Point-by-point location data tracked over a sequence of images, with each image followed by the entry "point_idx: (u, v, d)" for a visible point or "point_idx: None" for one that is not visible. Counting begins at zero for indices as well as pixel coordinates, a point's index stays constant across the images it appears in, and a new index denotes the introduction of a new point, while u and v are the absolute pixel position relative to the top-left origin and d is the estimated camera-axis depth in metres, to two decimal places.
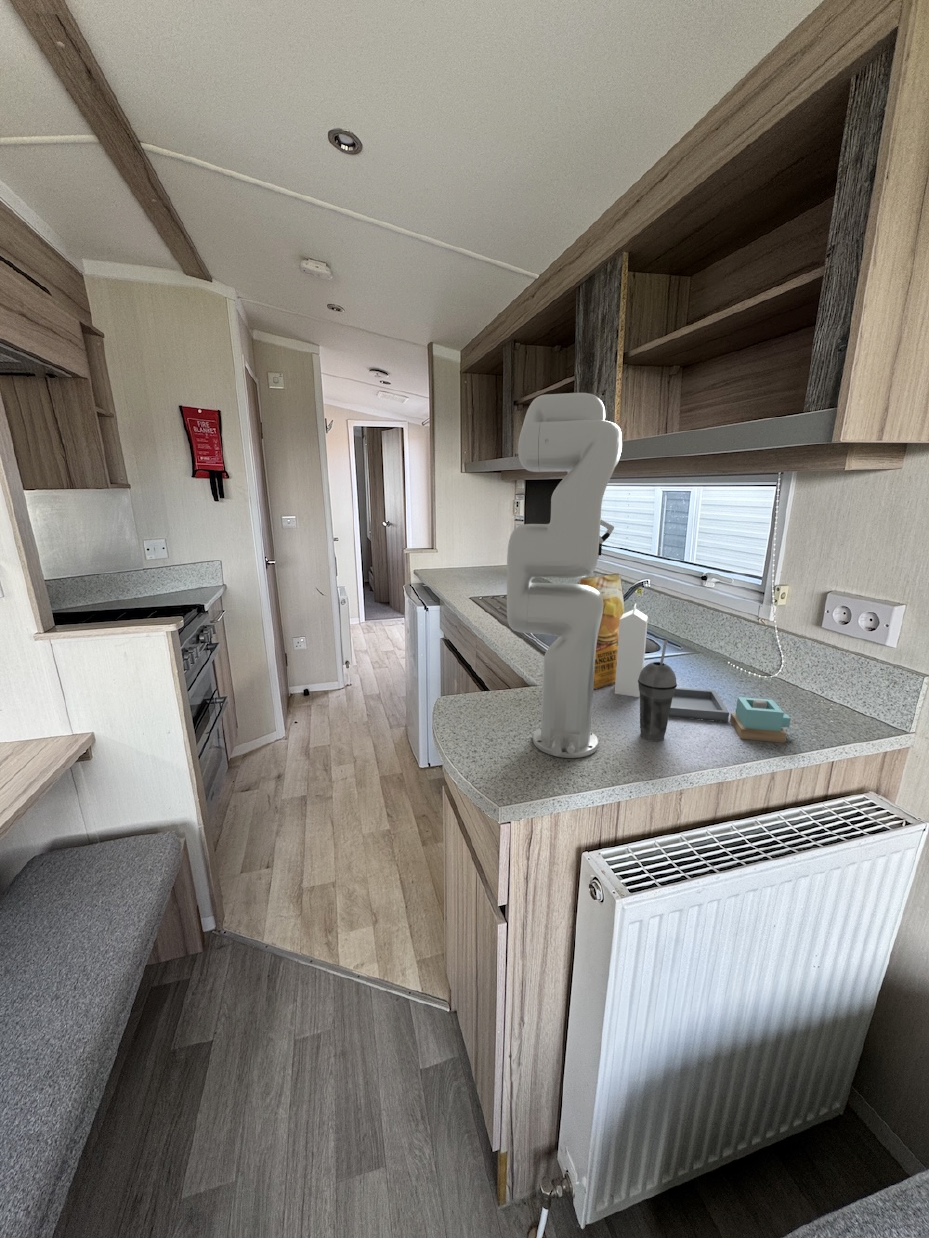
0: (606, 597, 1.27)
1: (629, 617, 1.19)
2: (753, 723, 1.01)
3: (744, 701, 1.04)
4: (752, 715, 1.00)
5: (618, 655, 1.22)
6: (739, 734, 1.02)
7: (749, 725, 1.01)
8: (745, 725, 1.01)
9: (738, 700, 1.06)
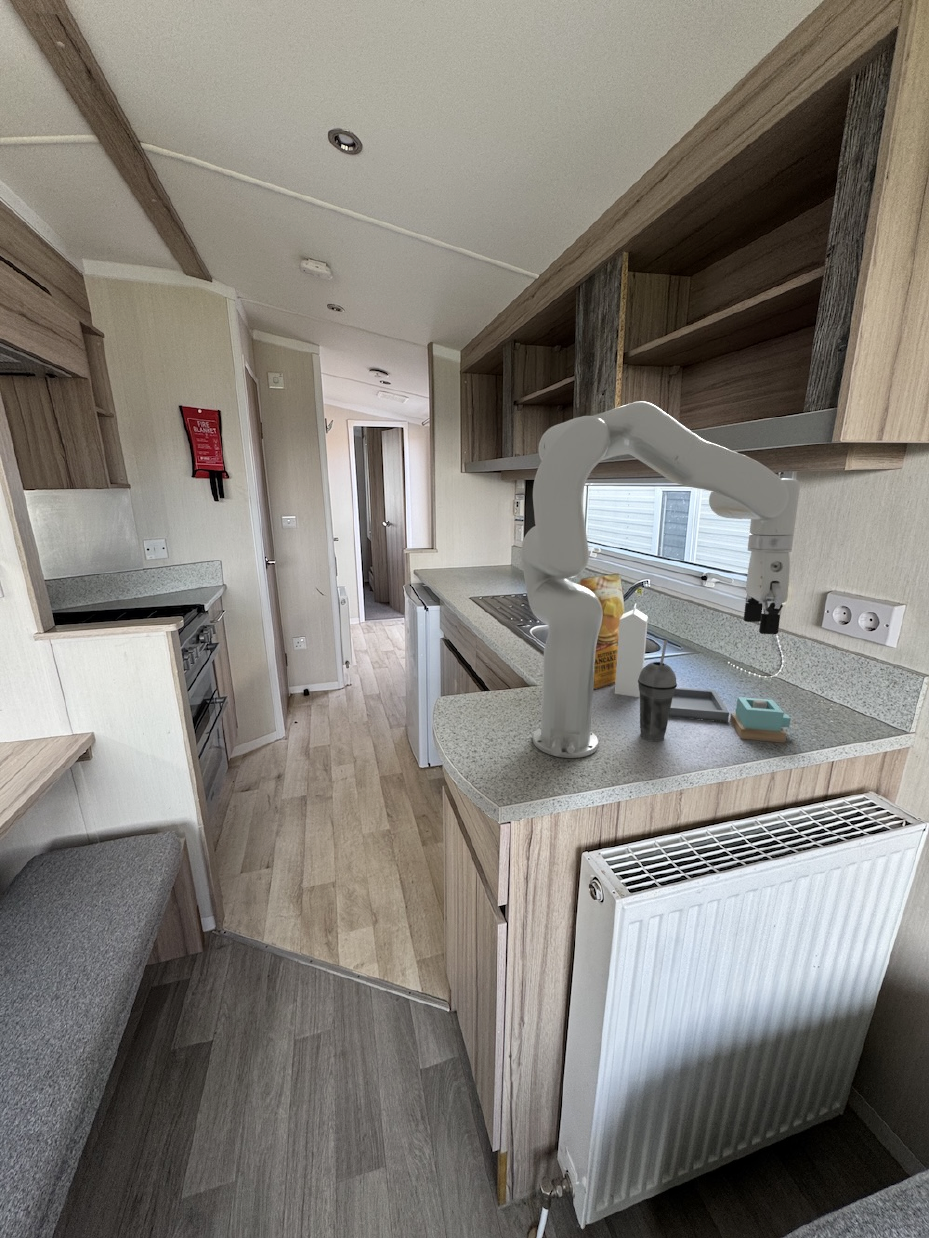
0: (606, 597, 1.27)
1: (629, 617, 1.19)
2: (753, 723, 1.01)
3: (744, 701, 1.04)
4: (752, 715, 1.00)
5: (618, 655, 1.22)
6: (739, 734, 1.02)
7: (749, 725, 1.01)
8: (745, 725, 1.01)
9: (738, 700, 1.06)
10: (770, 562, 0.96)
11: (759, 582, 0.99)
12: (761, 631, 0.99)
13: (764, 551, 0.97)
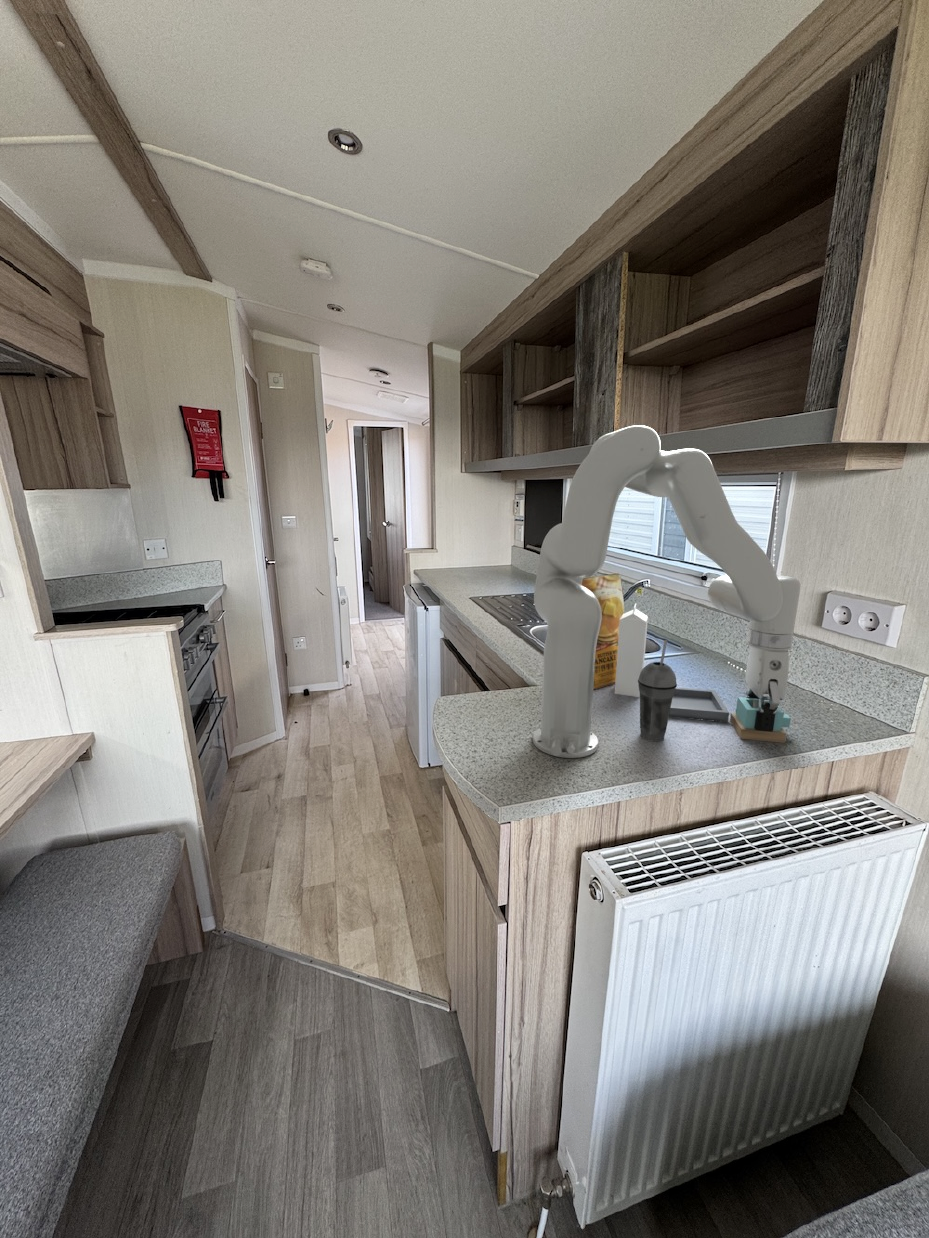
0: (606, 597, 1.27)
1: (629, 617, 1.19)
2: (753, 723, 1.01)
3: (744, 701, 1.04)
4: (752, 715, 1.00)
5: (618, 655, 1.22)
6: (739, 734, 1.02)
7: (749, 725, 1.01)
8: (745, 725, 1.01)
9: (738, 700, 1.06)
10: (769, 661, 0.96)
11: (758, 678, 0.98)
12: (756, 728, 1.00)
13: (763, 648, 0.97)
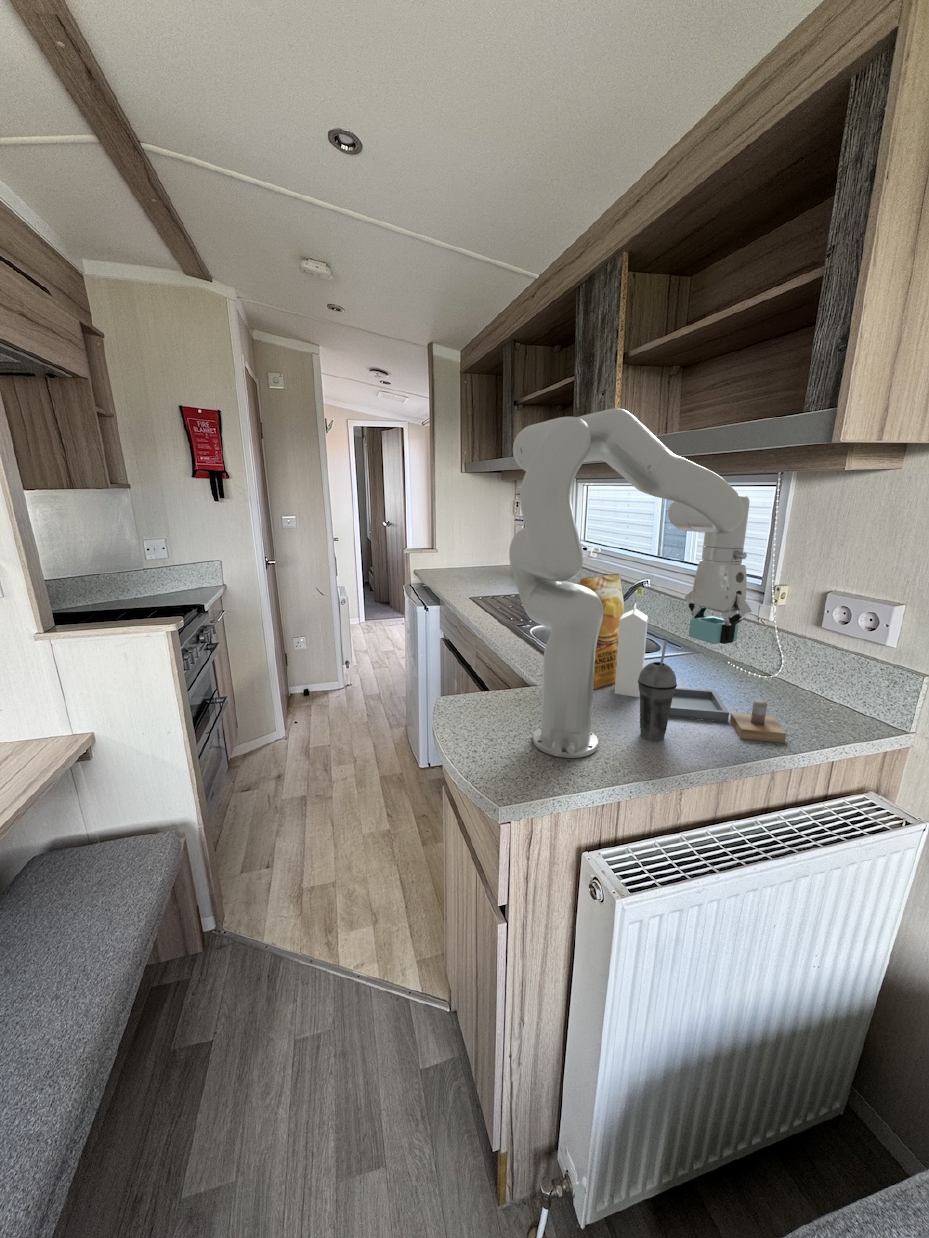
0: (606, 597, 1.27)
1: (629, 617, 1.19)
2: (719, 638, 1.05)
3: (701, 620, 1.08)
4: (719, 630, 1.05)
5: (618, 655, 1.22)
6: (739, 734, 1.02)
7: (717, 640, 1.05)
8: (714, 641, 1.05)
9: (693, 621, 1.09)
10: (735, 574, 1.01)
11: (724, 593, 1.03)
12: (723, 641, 1.05)
13: (728, 563, 1.02)
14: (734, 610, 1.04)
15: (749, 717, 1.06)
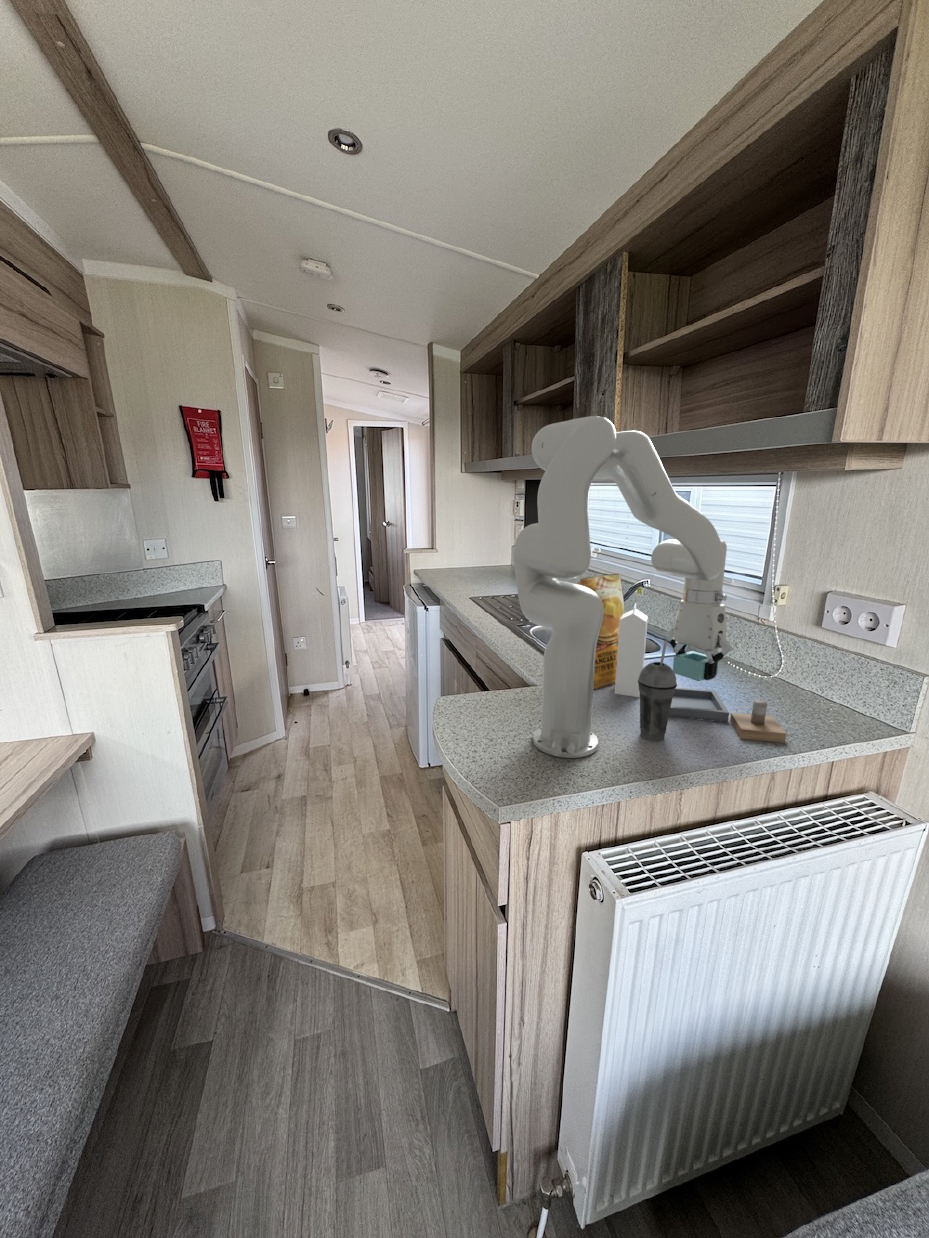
0: (606, 597, 1.27)
1: (629, 617, 1.19)
2: (703, 675, 1.11)
3: (684, 658, 1.13)
4: (703, 668, 1.10)
5: (618, 655, 1.22)
6: (739, 734, 1.02)
7: (701, 677, 1.10)
8: (699, 678, 1.10)
9: (676, 658, 1.14)
10: (717, 615, 1.06)
11: (707, 633, 1.08)
12: (707, 678, 1.10)
13: (710, 605, 1.07)
14: (715, 648, 1.10)
15: (749, 717, 1.06)
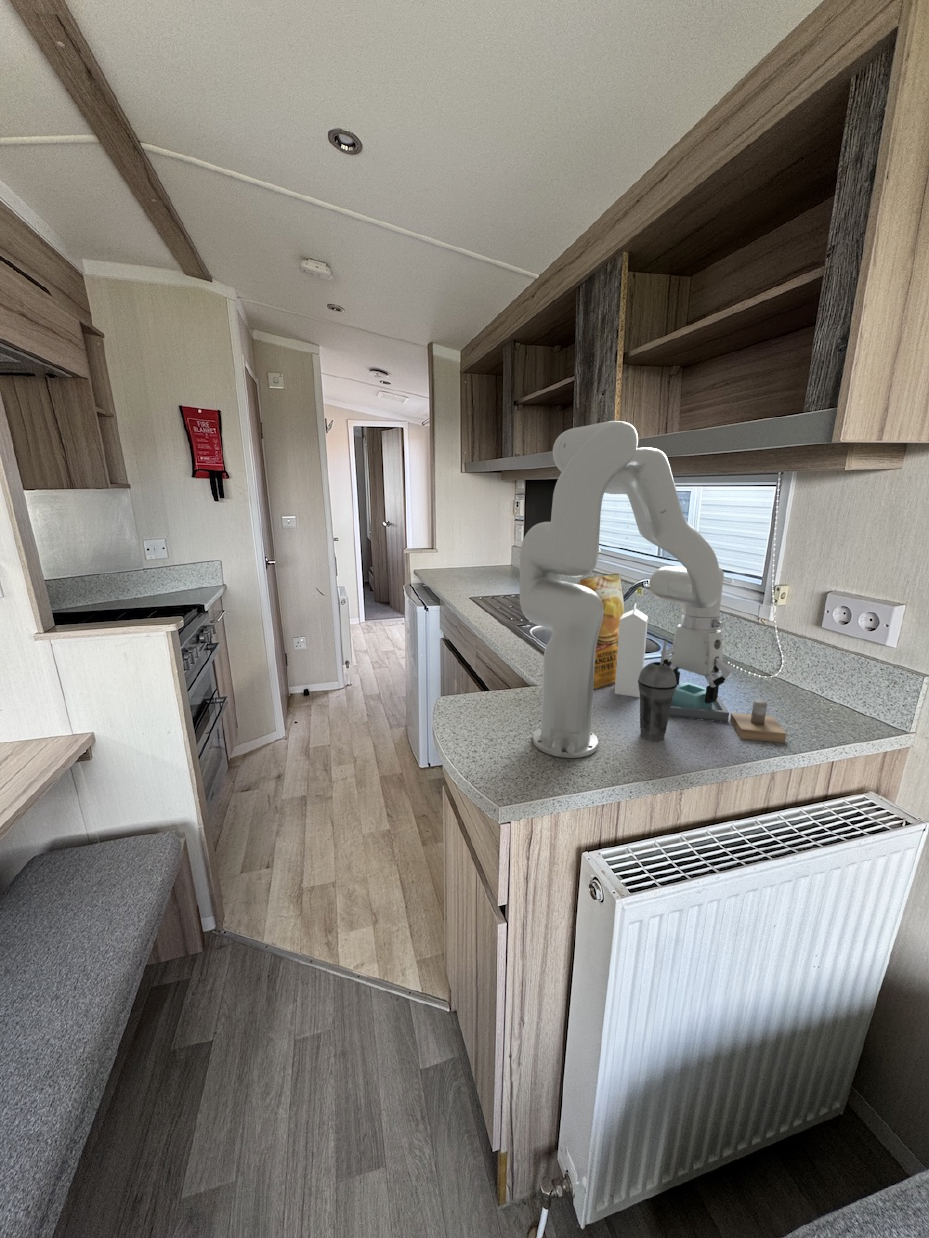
0: (606, 597, 1.27)
1: (629, 617, 1.19)
2: (698, 707, 1.12)
3: (680, 689, 1.15)
4: (698, 700, 1.12)
5: (618, 655, 1.22)
6: (739, 734, 1.02)
7: None
8: None
9: None
10: (714, 641, 1.08)
11: (704, 659, 1.09)
12: (708, 701, 1.10)
13: (706, 631, 1.08)
14: (714, 672, 1.11)
15: (749, 717, 1.06)
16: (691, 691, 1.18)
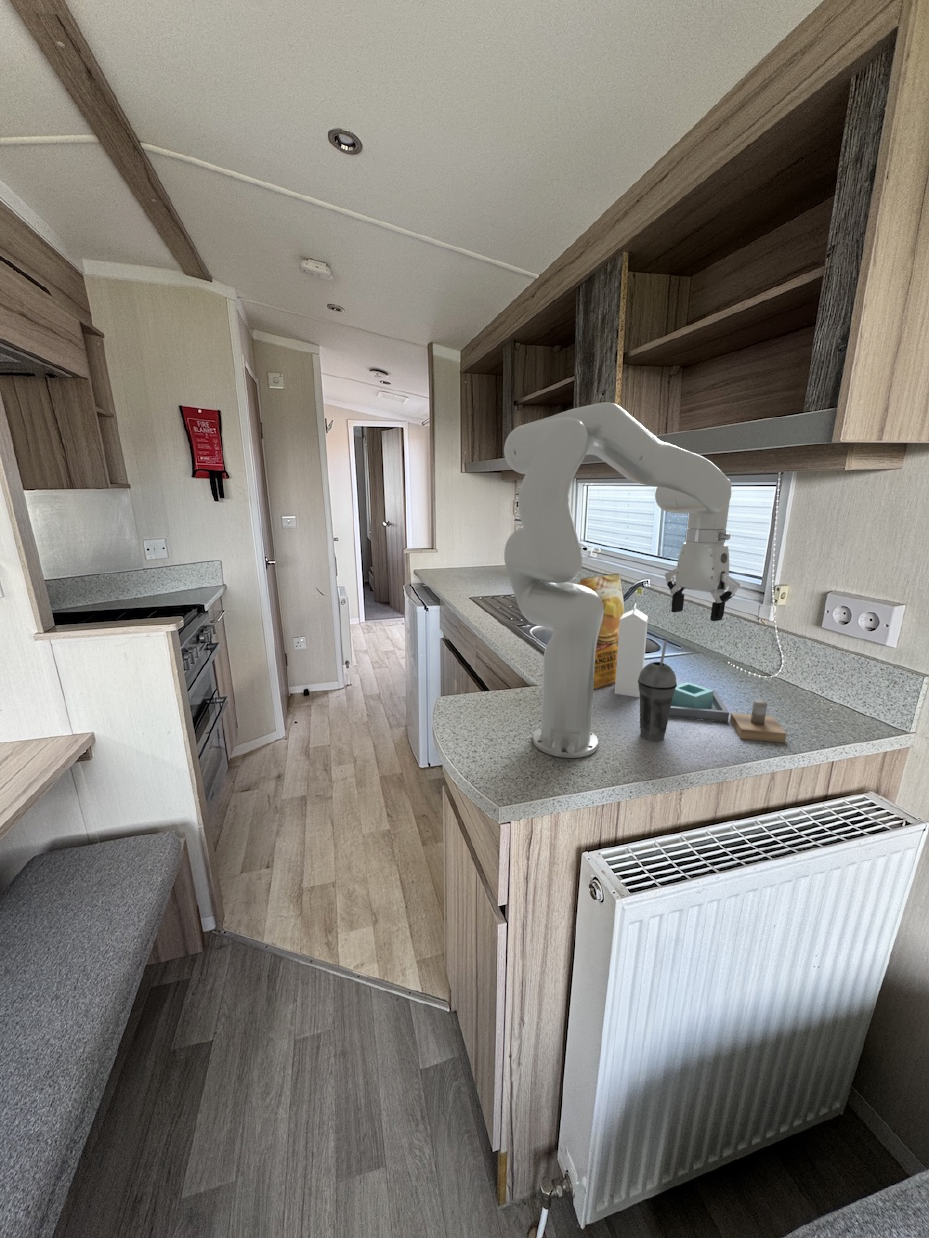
0: (606, 597, 1.27)
1: (629, 617, 1.19)
2: (698, 707, 1.12)
3: (680, 689, 1.15)
4: (698, 700, 1.12)
5: (618, 655, 1.22)
6: (739, 734, 1.02)
7: None
8: None
9: None
10: (720, 555, 1.04)
11: (709, 573, 1.05)
12: (713, 619, 1.07)
13: (713, 544, 1.04)
14: (721, 588, 1.07)
15: (749, 717, 1.06)
16: (691, 691, 1.18)
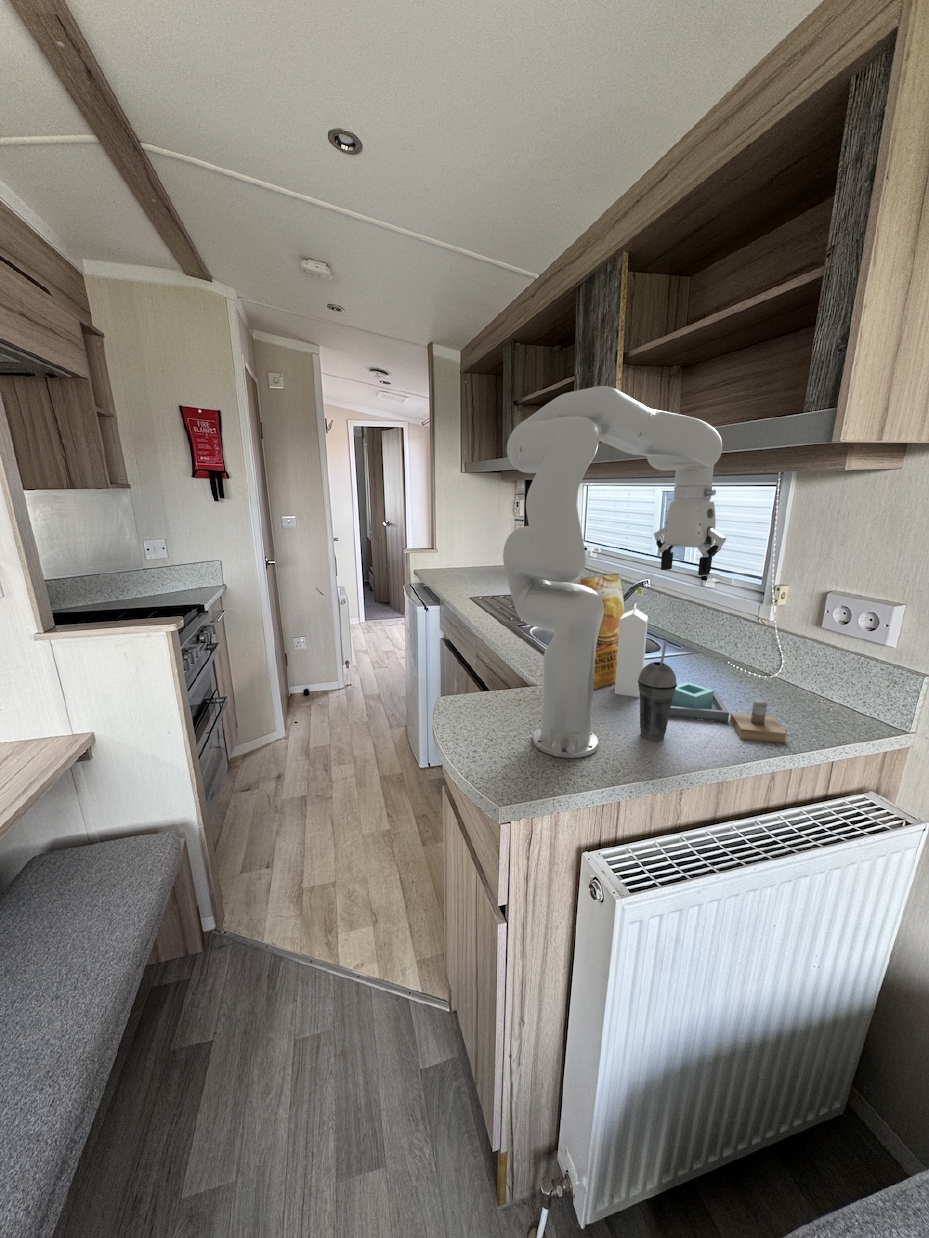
0: (606, 597, 1.27)
1: (629, 617, 1.19)
2: (698, 707, 1.12)
3: (680, 689, 1.15)
4: (698, 700, 1.12)
5: (618, 655, 1.22)
6: (739, 734, 1.02)
7: None
8: None
9: None
10: (706, 510, 1.08)
11: (696, 529, 1.09)
12: (701, 573, 1.10)
13: (699, 500, 1.08)
14: (708, 543, 1.10)
15: (749, 717, 1.06)
16: (691, 691, 1.18)
